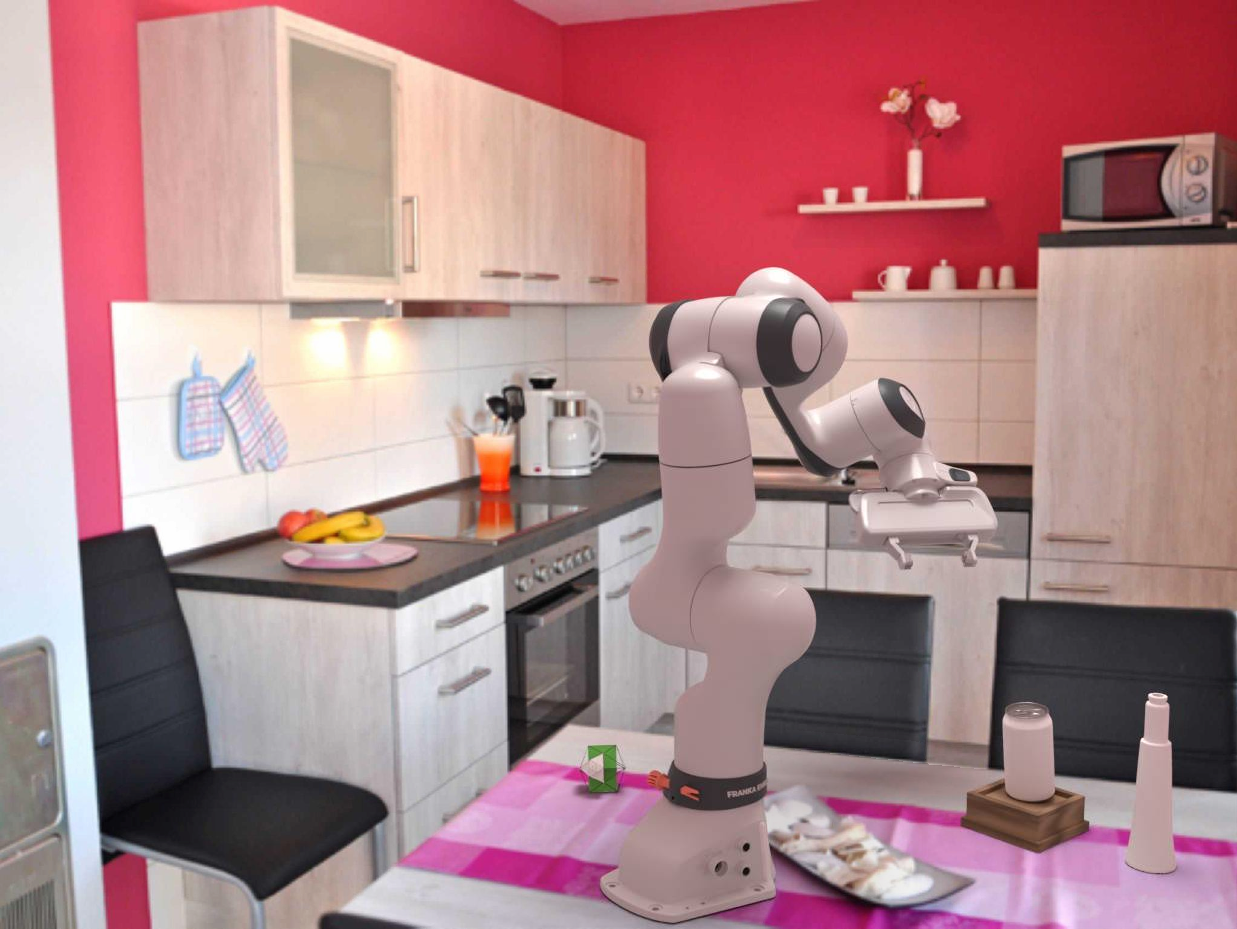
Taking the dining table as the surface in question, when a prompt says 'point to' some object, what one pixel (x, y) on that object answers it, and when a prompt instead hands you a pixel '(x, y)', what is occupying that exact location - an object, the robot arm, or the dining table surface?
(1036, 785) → the can
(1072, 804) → the pedestal
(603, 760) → the geometric puzzle
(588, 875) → the dining table surface
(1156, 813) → the pink bottle
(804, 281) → the robot arm
